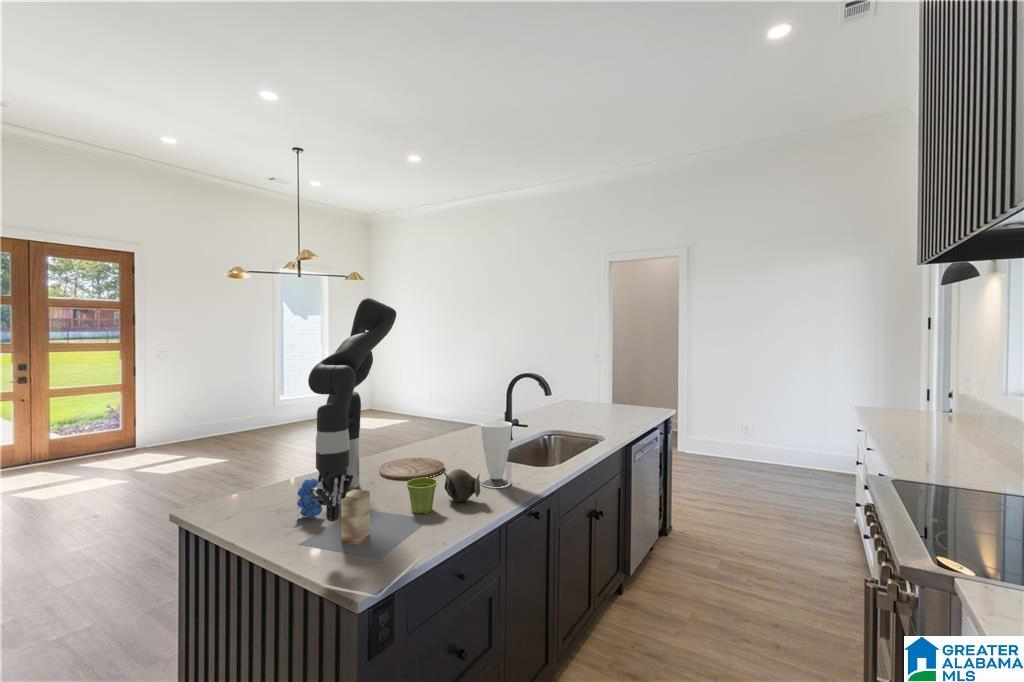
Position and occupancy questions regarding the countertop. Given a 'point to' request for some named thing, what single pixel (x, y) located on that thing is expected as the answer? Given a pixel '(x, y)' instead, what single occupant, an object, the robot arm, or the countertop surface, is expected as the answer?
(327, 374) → the robot arm
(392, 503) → the countertop surface
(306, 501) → the grapes
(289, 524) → the countertop surface
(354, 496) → the maple block
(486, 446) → the cup
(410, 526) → the rubber mat
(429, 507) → the plant pot
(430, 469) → the trivet
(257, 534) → the countertop surface
